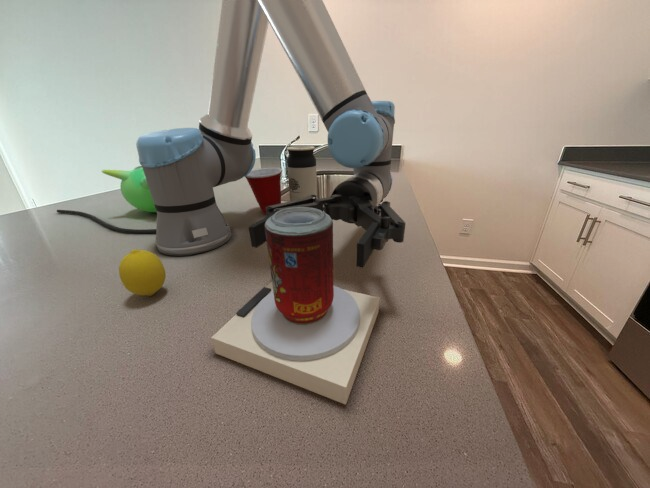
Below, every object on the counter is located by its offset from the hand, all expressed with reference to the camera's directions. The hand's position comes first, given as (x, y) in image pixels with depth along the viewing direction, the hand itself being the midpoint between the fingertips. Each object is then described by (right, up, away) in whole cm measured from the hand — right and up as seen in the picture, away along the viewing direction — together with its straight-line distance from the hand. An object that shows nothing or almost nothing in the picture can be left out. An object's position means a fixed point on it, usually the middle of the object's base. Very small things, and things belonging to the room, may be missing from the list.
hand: (301, 246), depth 29 cm
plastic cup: (-13, +10, +49) cm, 51 cm away
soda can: (0, -8, +3) cm, 8 cm away
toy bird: (-48, +10, +52) cm, 72 cm away
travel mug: (-3, +10, +48) cm, 49 cm away
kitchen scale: (0, -11, +4) cm, 12 cm away
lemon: (-25, -8, +12) cm, 28 cm away
